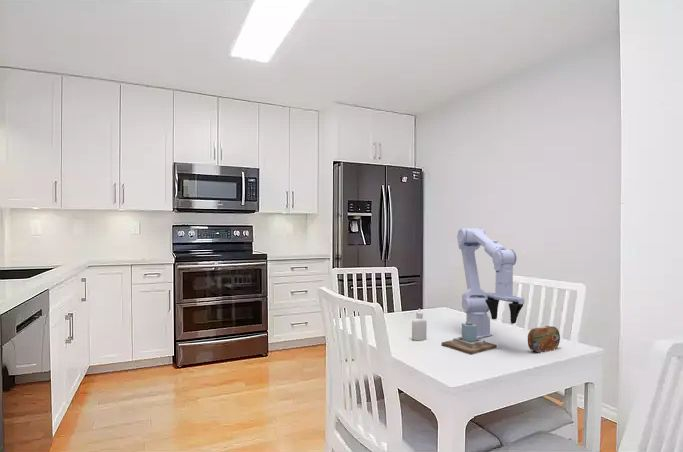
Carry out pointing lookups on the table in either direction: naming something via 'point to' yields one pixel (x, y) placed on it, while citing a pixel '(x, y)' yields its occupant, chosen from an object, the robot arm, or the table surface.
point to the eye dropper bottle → (419, 327)
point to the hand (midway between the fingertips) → (503, 321)
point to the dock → (469, 345)
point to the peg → (469, 332)
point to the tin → (543, 339)
